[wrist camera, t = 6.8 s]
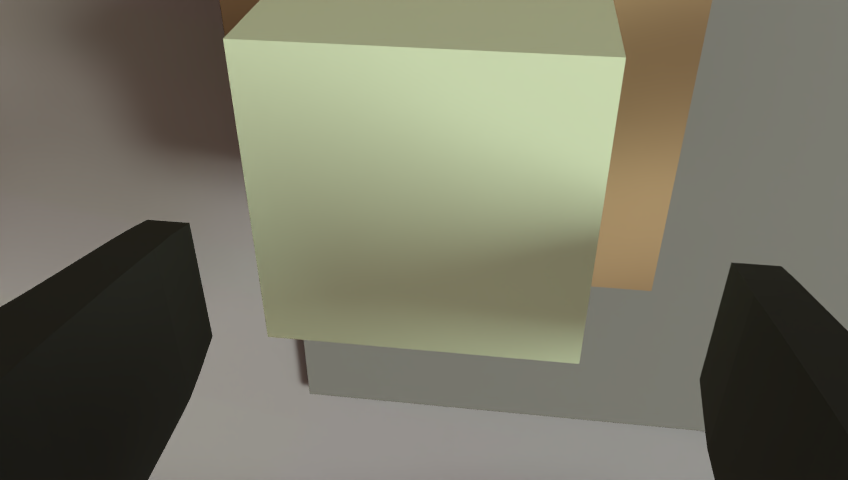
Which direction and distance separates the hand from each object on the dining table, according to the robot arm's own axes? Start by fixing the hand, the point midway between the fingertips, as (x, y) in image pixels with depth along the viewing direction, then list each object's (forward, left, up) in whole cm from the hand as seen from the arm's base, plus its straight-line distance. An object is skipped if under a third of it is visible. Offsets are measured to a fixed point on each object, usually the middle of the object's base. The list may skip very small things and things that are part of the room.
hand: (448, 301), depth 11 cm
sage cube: (+1, +1, -6) cm, 6 cm away
